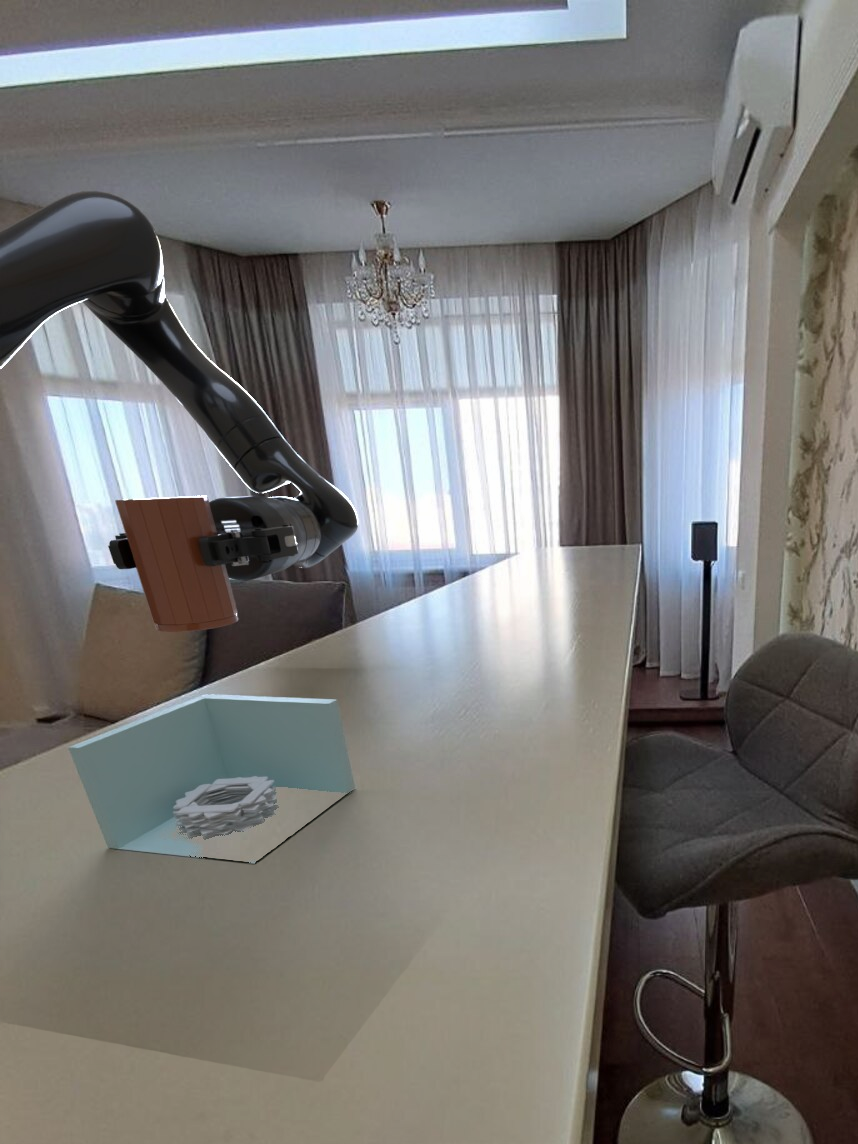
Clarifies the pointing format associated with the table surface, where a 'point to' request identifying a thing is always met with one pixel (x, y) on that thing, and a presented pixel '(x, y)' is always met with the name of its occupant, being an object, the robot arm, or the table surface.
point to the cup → (177, 563)
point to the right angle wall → (209, 768)
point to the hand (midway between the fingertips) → (161, 553)
